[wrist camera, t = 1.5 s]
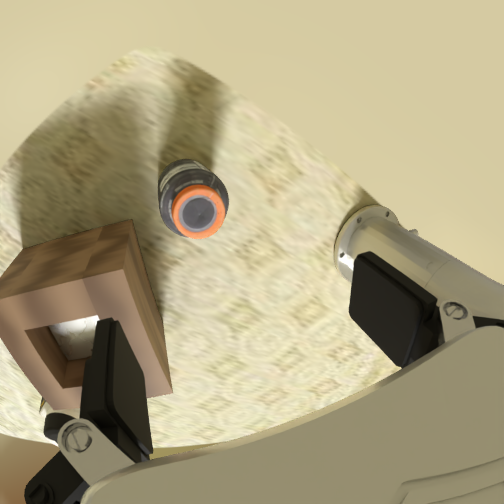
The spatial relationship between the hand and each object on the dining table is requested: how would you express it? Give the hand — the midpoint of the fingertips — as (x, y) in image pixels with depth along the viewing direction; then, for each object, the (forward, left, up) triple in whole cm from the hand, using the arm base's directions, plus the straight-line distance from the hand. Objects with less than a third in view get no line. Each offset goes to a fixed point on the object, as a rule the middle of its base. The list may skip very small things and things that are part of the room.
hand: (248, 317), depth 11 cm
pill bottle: (0, 0, -24) cm, 24 cm away
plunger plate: (+14, +10, -17) cm, 24 cm away
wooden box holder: (+14, +10, -24) cm, 29 cm away
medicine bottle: (+25, +25, -24) cm, 43 cm away
